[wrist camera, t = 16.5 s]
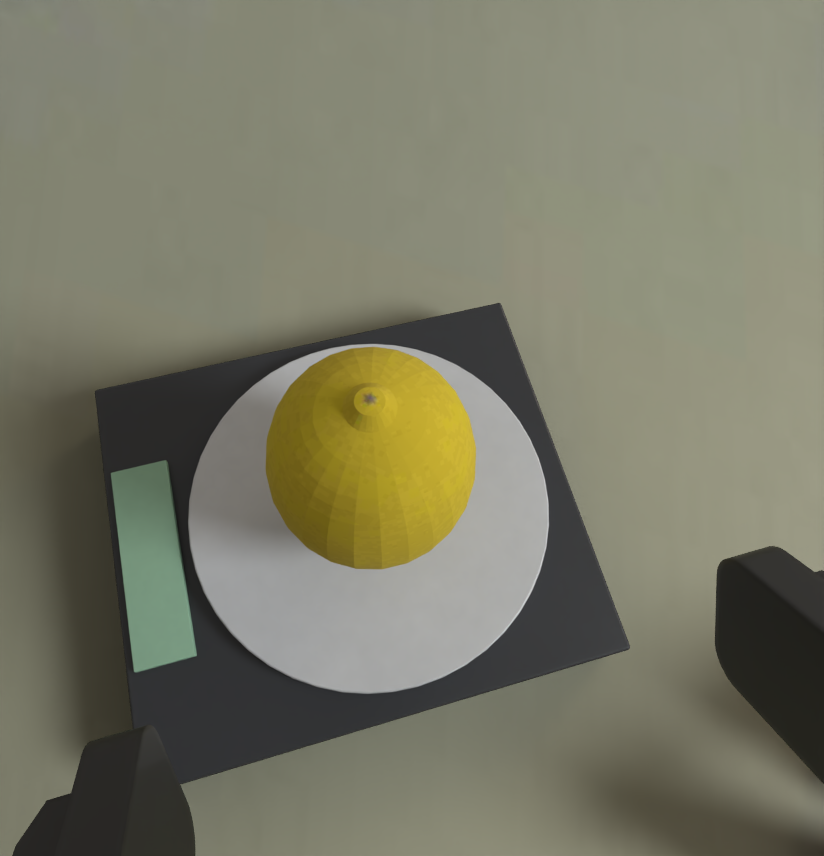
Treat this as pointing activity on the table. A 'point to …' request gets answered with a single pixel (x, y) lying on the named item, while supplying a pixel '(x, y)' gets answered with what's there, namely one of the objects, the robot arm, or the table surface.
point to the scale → (326, 581)
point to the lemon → (370, 458)
